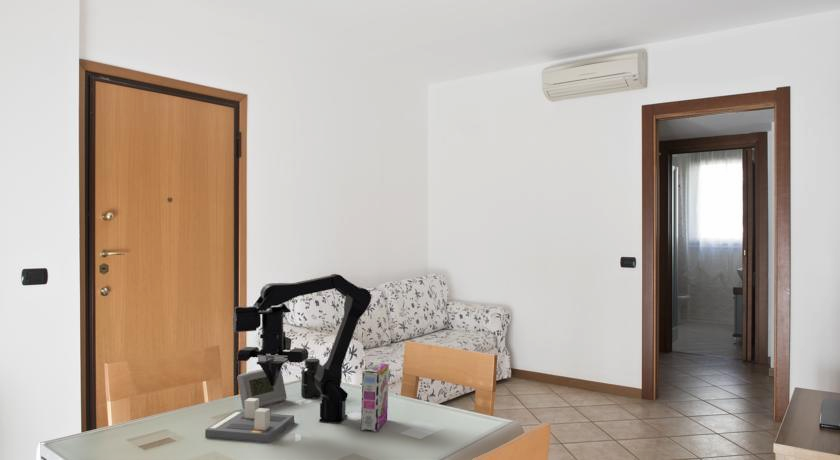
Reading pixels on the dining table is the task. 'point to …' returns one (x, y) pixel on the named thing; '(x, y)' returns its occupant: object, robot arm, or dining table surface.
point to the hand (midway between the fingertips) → (273, 385)
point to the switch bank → (248, 428)
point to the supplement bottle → (310, 379)
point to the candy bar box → (374, 397)
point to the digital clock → (261, 388)
